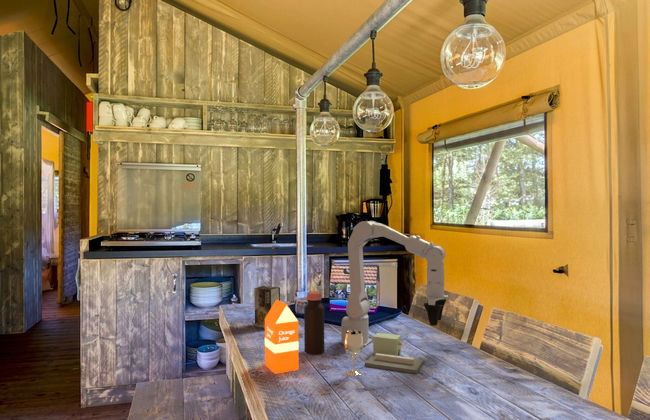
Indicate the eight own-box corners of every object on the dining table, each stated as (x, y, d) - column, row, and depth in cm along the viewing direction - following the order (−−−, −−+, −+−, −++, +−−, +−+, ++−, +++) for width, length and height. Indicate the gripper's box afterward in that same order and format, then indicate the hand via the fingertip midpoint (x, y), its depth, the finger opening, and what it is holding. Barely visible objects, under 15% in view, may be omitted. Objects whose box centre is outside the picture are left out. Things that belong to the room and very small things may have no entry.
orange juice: (274, 374, 129) (274, 305, 129) (264, 364, 137) (264, 300, 137) (299, 369, 133) (298, 303, 133) (287, 360, 140) (287, 297, 140)
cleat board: (364, 365, 135) (364, 357, 135) (374, 356, 144) (374, 348, 144) (416, 373, 129) (416, 365, 129) (423, 362, 138) (423, 354, 138)
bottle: (327, 350, 151) (327, 291, 151) (319, 356, 144) (318, 295, 144) (310, 347, 153) (309, 290, 153) (300, 353, 147) (300, 293, 147)
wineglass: (365, 371, 131) (365, 330, 131) (360, 378, 126) (360, 335, 126) (347, 368, 133) (346, 329, 133) (341, 375, 127) (341, 334, 127)
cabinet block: (373, 354, 146) (373, 336, 146) (377, 350, 151) (377, 332, 151) (399, 358, 142) (399, 339, 142) (403, 353, 147) (403, 335, 147)
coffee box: (281, 326, 182) (281, 287, 182) (271, 329, 177) (271, 289, 177) (264, 323, 187) (264, 285, 187) (253, 326, 182) (253, 287, 182)
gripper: (444, 286, 140) (444, 329, 140) (450, 279, 153) (451, 318, 153) (421, 284, 143) (421, 326, 143) (430, 278, 156) (430, 316, 156)
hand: (435, 322), depth 148 cm, fingers open, 7 cm apart
